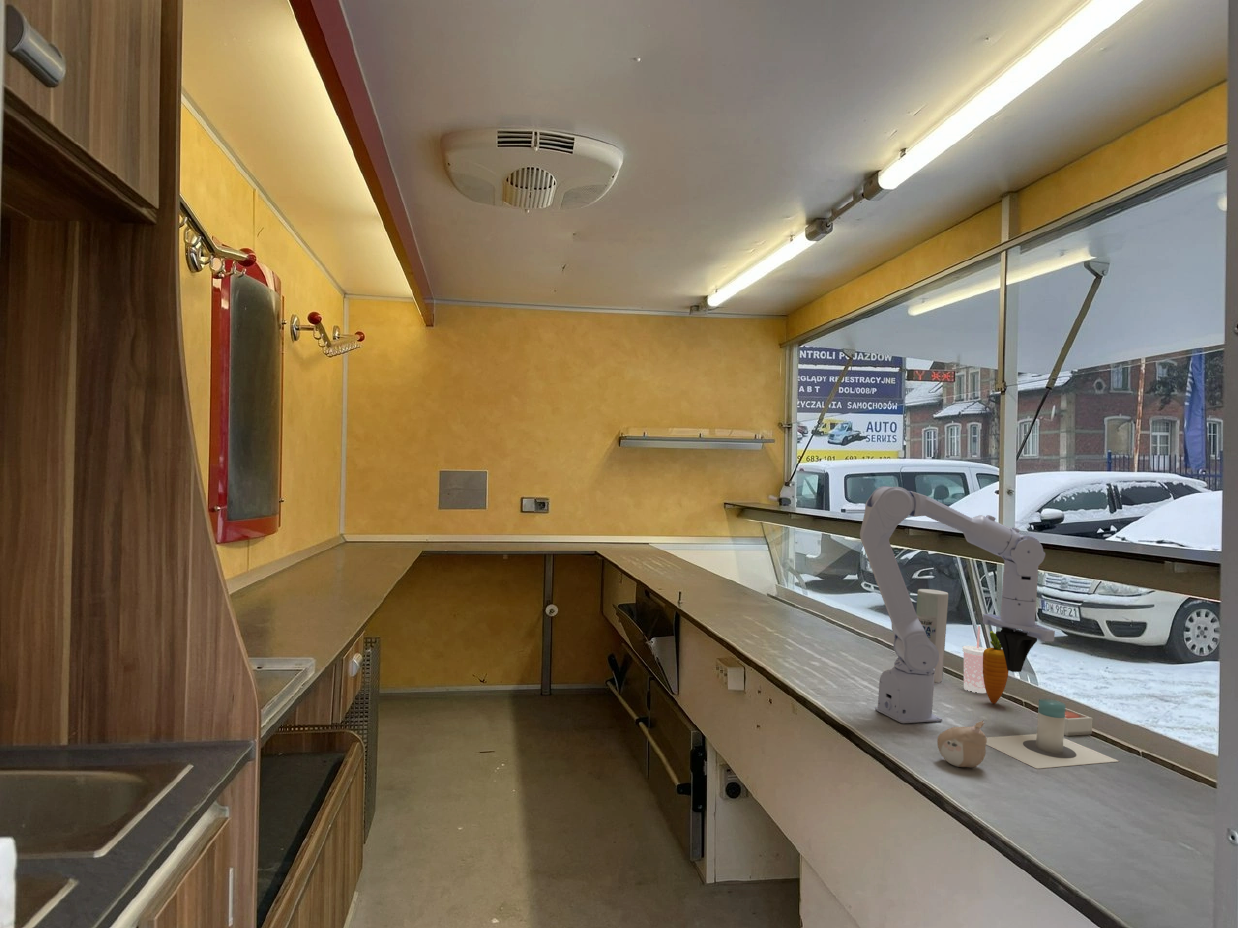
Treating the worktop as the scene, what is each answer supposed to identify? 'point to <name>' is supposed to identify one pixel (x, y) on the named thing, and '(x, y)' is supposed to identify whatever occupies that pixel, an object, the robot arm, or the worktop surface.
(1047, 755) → the paper sheet
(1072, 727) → the button housing
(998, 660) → the carrot
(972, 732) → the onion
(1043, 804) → the worktop surface
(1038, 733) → the marker
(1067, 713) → the button
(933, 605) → the spray can
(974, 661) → the beverage cup
